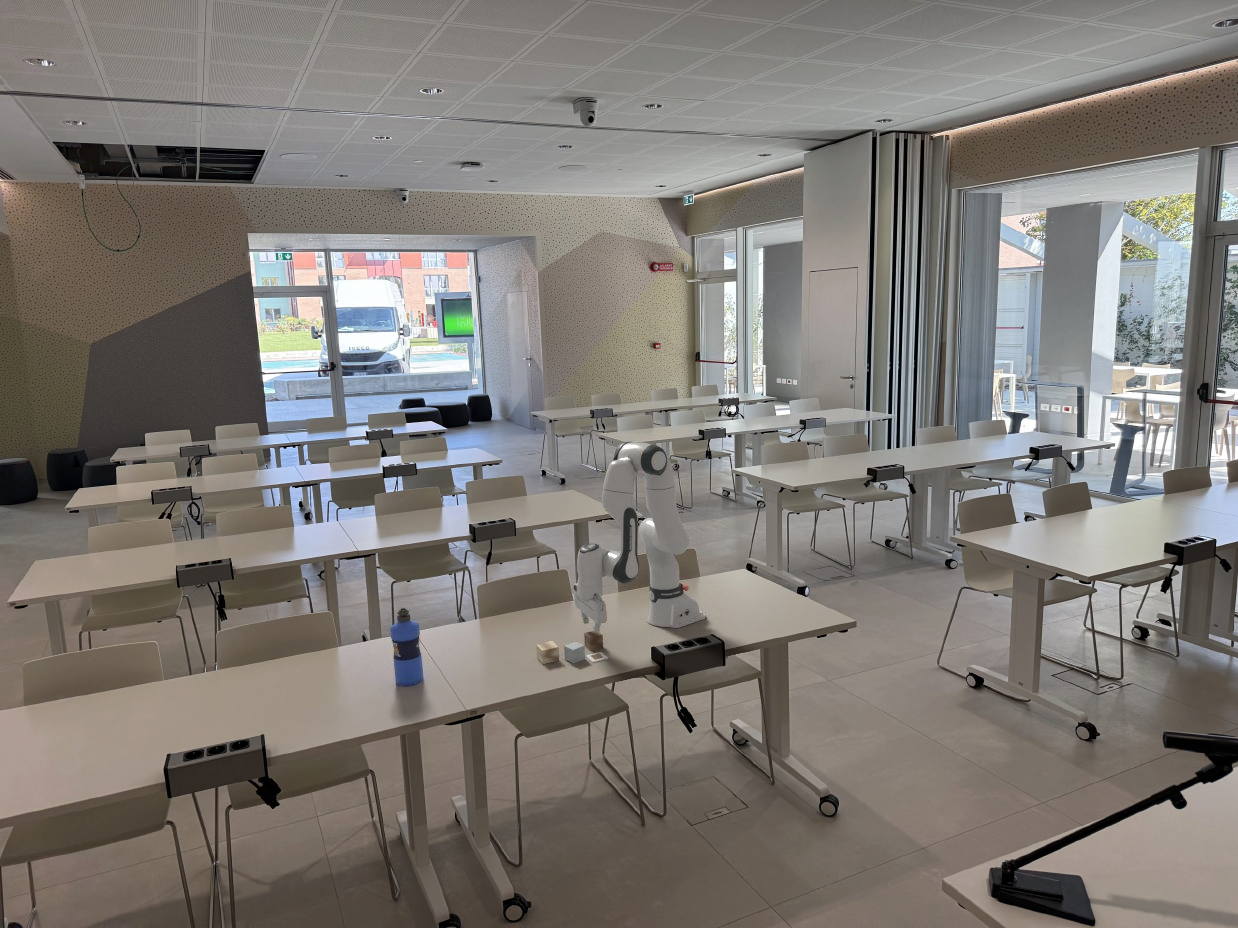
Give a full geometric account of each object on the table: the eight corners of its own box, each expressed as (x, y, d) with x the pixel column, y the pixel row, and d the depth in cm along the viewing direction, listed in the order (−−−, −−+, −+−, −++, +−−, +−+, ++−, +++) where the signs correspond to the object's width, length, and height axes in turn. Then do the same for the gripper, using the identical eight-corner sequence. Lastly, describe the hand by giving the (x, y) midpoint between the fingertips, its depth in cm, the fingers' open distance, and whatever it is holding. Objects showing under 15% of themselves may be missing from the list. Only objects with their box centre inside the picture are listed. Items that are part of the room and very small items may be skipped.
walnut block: (597, 642, 306) (596, 629, 305) (603, 647, 301) (602, 634, 300) (584, 645, 304) (584, 632, 303) (590, 650, 299) (589, 637, 298)
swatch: (601, 652, 297) (600, 651, 297) (608, 658, 292) (608, 657, 292) (585, 656, 295) (585, 654, 295) (592, 662, 289) (592, 661, 289)
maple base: (553, 654, 298) (552, 640, 297) (559, 660, 293) (558, 646, 292) (536, 657, 295) (536, 644, 294) (543, 664, 290) (542, 650, 289)
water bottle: (399, 688, 276) (391, 616, 271) (392, 678, 284) (385, 607, 279) (427, 681, 280) (420, 610, 275) (419, 671, 288) (413, 601, 283)
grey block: (576, 654, 296) (575, 641, 295) (585, 659, 293) (584, 645, 292) (564, 659, 293) (564, 645, 292) (573, 663, 289) (572, 649, 288)
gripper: (611, 597, 290) (611, 635, 293) (586, 580, 308) (587, 616, 311) (594, 600, 287) (595, 638, 290) (570, 583, 306) (571, 619, 308)
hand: (591, 627), depth 301 cm, fingers open, 8 cm apart
